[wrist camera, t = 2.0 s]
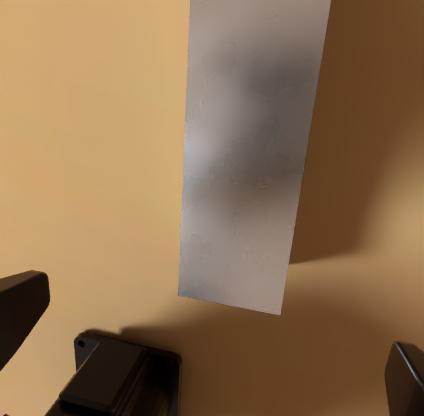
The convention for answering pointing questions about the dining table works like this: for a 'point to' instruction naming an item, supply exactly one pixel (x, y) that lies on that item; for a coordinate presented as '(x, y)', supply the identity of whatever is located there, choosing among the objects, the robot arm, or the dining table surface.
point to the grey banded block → (246, 145)
